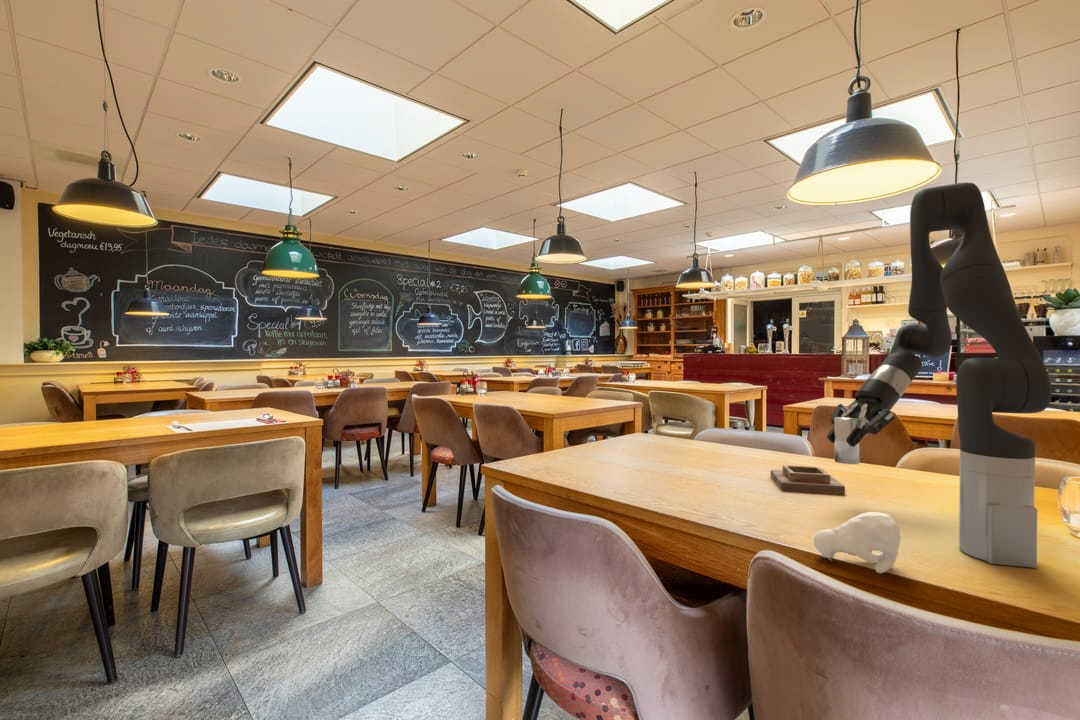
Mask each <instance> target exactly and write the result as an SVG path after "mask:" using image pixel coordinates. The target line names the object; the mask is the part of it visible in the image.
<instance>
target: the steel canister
mask: <svg viewBox="0 0 1080 720" xmlns="http://www.w3.org/2000/svg"><path fill="white" fill-rule="evenodd" d="M858 423H859V419H858V418H850V417H849V416H848V417H835V418H834V425H833V427H834V436H835V443H834V462H835V463H838V464H843V465H860V442H859V443H858V444H857V445H856V446H855V447H852V446H850V445H849V444H848V443H847V442H846V439H847V438H848V437H849V435H850V434H851V433H852V432H853V430H854V429H855V428H856V429H858V428H857V426H858Z"/></svg>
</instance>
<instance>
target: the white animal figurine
mask: <svg viewBox="0 0 1080 720" xmlns="http://www.w3.org/2000/svg"><path fill="white" fill-rule="evenodd" d="M900 532H901V530H900V528H899V526H898V523H897V522H896V520H895V519H894V518H893V517H892V516H891V515H889V514H888V513H882V512H880V511H879V512H878V511H877V512H876V511H868V512H863V513H859V514H858V515H857V516H853V517H851V518H849V519H848V520H847V521H846V522H843V523H841V524H840V525H839V526H837V527H834V528H832V529H823V530H819V531H817V532H815V534H814V537H813V544H814V547H815V549H816V550H817V551H818V552H819V553H820V554H821V556H822V557H823V559H825V558H826V559H828V560H830V561H833V560H834V559H833V558H834V557H835V554H837V553H844V554H848V555H850V556H855V557H859V559H862V560H864V561H866V562H868V563H870V564H875V572H876V573H877V574H884V573H885V572H887V571H888V570H890V569H891V568H892V567H893V566H894V565H895V562H897V561H896V560H897V557H898V556H899V547H900V543H901V539H902V536H901V533H900ZM873 551H876V552H878V553H876V554H873ZM879 552H880V553H879ZM832 559H833V560H832Z"/></svg>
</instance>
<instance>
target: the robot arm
mask: <svg viewBox="0 0 1080 720" xmlns="http://www.w3.org/2000/svg"><path fill="white" fill-rule="evenodd" d="M982 194H983V193H982V192H981V190H980V188H979V186H978V185H976V184H975V183H973V182H958V183H957V182H956V183H951V184H944V185H936V186H931V187H930V186H929V187H924V188H922V189H921V188H920V189H919V190H917V191H916V193H915V194H914V195H913V197H912V201H911V205H910V212H909V213H910V214H909V215H910V216H909V232H910V233H909V234H910V239H909V240H910V242H909V243H910V262H911V263H910V264H911V284H910V285H911V286H910V291H909V292H910V293H909V299H908V300H909V301H908V311H907V312H908V316H910V317H911V318H912V319H914V320H916V321H918V322H920V323H916V322H908V323H906V324H903V325H902V326H901V327H899V329H898V330H897V333H896V335H895V338H894V341H893V345H892V347H891V349H890V352H889V354H888V355H887V356H886V358H885V359H884V360H883V362H882V363H880V365H879V366H878V367H877V368H876V369H874V371H873V372H872V373H871V374H870V375H869V376H868V377H867V379H866V380H865V382H863V384H862V385H861V386H860V387H859V389H858V390H857V391H855V392H856V393H855V400H854V401H852V402H851V403H850V404H849V405H845V406H844V405H843V404H842V403H840V404H838V405H836V407H835V410H834V411H833V414H832V416H831V418H830V420H829V422H830V424H831V425H832V426H833V427H832V428H831V430H830V431H829V432H828V433H827V436H826V438H827V439H828V440H829V442H830V443H831V444H832V443H833V444H835V436H834V418H835V417H848V418H858V419H859V423H858V426H857V428H858V429H856V428H855V429H854V430H853V432H852V433H851V434H850V435H849V437H848V438H847V439H846V442H847V443H848V444H849V445H850V446H852V447H855V446H856V445H857V444H858V443H859V444H860V442H861V441H862V440H863V439H864V437H865V436H868V435H869V434H872V435H873V436H875V435H877V434H878V433H879V432H880V431H882V430H883V429H884V428H885V427H887V426H888V425H889V424H891V422H892V421H893V420H895V419H896V416H895V415H894V414H893V412H892V411H891V410H892V408H893V407H894V406H895V405H896V404H897V403H898V401H899V400H900V399H901V397H902V396H903V395H904V394H905V393H906V391H907V389H908V387H909V385H910V384H911V383H912V381H913V380H914V379H915V378H916V377H917V375H918V374H919V373H920V372H921V370H922V367H923V362H922V359H921V358H920V357H919V356H918V355H920V356H924V357H928V358H931V359H939V358H941V357H943V356H944V355H946V354H947V353H948V352H949V351H950V349H951V347H952V344H953V343H952V342H953V339H952V338H953V337H952V330H951V326H950V322H949V315H948V310H949V311H950V314H952V315H953V316H955V318H957V319H958V320H959V321H960V322H961V323H962V324H964V325H965V326H967V327H968V328H970V330H972V331H973V332H975V333H976V334H977V335H979V336H980V337H982V338H983V340H985V341H986V342H987V343H988V344H989V345H990V346H991V347H992V349H993V350H994V352H995V354H996V355H997V357H972V358H971V357H970V358H967V359H965V360H963V361H962V363H961V364H960V365H959V367H958V370H957V373H956V381H955V393H956V403H957V404H956V405H957V431H958V437H959V494H958V495H959V499H958V500H959V508H958V509H959V511H958V512H959V513H958V514H959V515H958V520H959V522H958V526H959V528H958V529H959V530H958V531H959V532H958V535H959V536H958V538H959V539H958V540H959V541H958V544H959V545H958V548H959V550H960V551H962V552H963V553H965V554H967V555H968V556H970V557H971V556H972V557H974V558H976V559H979V560H982V561H985V562H987V563H989V564H991V565H992V564H993V565H1001V566H1002V565H1003V566H1011V567H1012V566H1013V567H1022V568H1023V567H1024V568H1032V569H1033V568H1035V569H1036V568H1038V565H1037V564H1038V563H1037V562H1038V561H1037V560H1038V509H1037V508H1036V507H1035V494H1036V493H1035V489H1036V488H1035V486H1036V485H1035V484H1036V483H1035V482H1036V481H1035V479H1036V478H1035V477H1036V475H1035V474H1036V444H1035V441H1034V440H1032V439H1031V437H1030V438H1029V437H1027V436H1024V435H1021V434H1018V433H1015V432H1012V431H1008V430H1006V429H1004V428H1002V427H1000V426H999V425H998V424H997V423H996V422H995V421H994V416H993V413H995V414H997V413H998V414H1037V413H1041V412H1044V411H1045V410H1046V409H1047V408H1048V407H1049V405H1050V404H1051V400H1052V395H1053V390H1052V383H1051V379H1050V378H1051V377H1050V374H1049V372H1048V370H1047V367H1046V364H1045V363H1044V361H1043V359H1042V357H1041V354H1040V353H1039V351H1038V349H1037V348H1036V346H1035V344H1034V342H1033V340H1032V337H1031V336H1030V334H1029V332H1028V330H1027V328H1026V326H1025V324H1024V322H1023V320H1022V317H1021V314H1020V312H1019V309H1018V307H1017V304H1016V302H1015V299H1014V295H1013V290H1012V287H1011V284H1010V282H1009V279H1008V277H1007V273H1006V271H1005V268H1004V266H1003V264H1002V261H1001V258H1000V257H999V255H998V252H997V249H996V246H995V243H994V241H993V237H992V234H991V230H990V225H989V221H988V220H989V219H988V216H987V212H986V207H985V203H984V199H983V195H982ZM951 230H959V231H960V232H961V235H962V239H960V240H961V241H960V243H959V245H958V246H957V247H956V249H955V251H954V252H953V254H952V255H951V256H950V257H949V259H948V260H947V262H946V263H945V265H944V266H943V265H942V264H941V262H939V260H938V258H937V257H936V256H935V254H934V252H933V249H932V247H931V244H930V243H931V242H930V234H931V233H933V232H943V231H951ZM921 323H922V324H921ZM916 354H917V355H916ZM875 425H877V426H875Z"/></svg>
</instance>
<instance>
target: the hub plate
mask: <svg viewBox="0 0 1080 720" xmlns="http://www.w3.org/2000/svg"><path fill="white" fill-rule="evenodd" d="M770 478H771V479H772V480H774V481H773V482H774V483H775V485H777V487H778V486H779V487H778V488H779V489H780V490H781V491H783V492H784V491H786V492H799V493H812V492H814V493H813V494H827V493H836V494H835V495H842V494H845V495H846V486H845V485H844V484H843V483H842V482H840V481H838V480H837V479H835V477H833V476H832V475H831V474H829V473H828V472H827V471H825V470H824V469H822V468H821V466H807V465H806V466H805V465H803V466H802V465H790V464H789V465H788V464H786V465H785V464H782V470H781V469H780V470H779V469H770Z"/></svg>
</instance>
